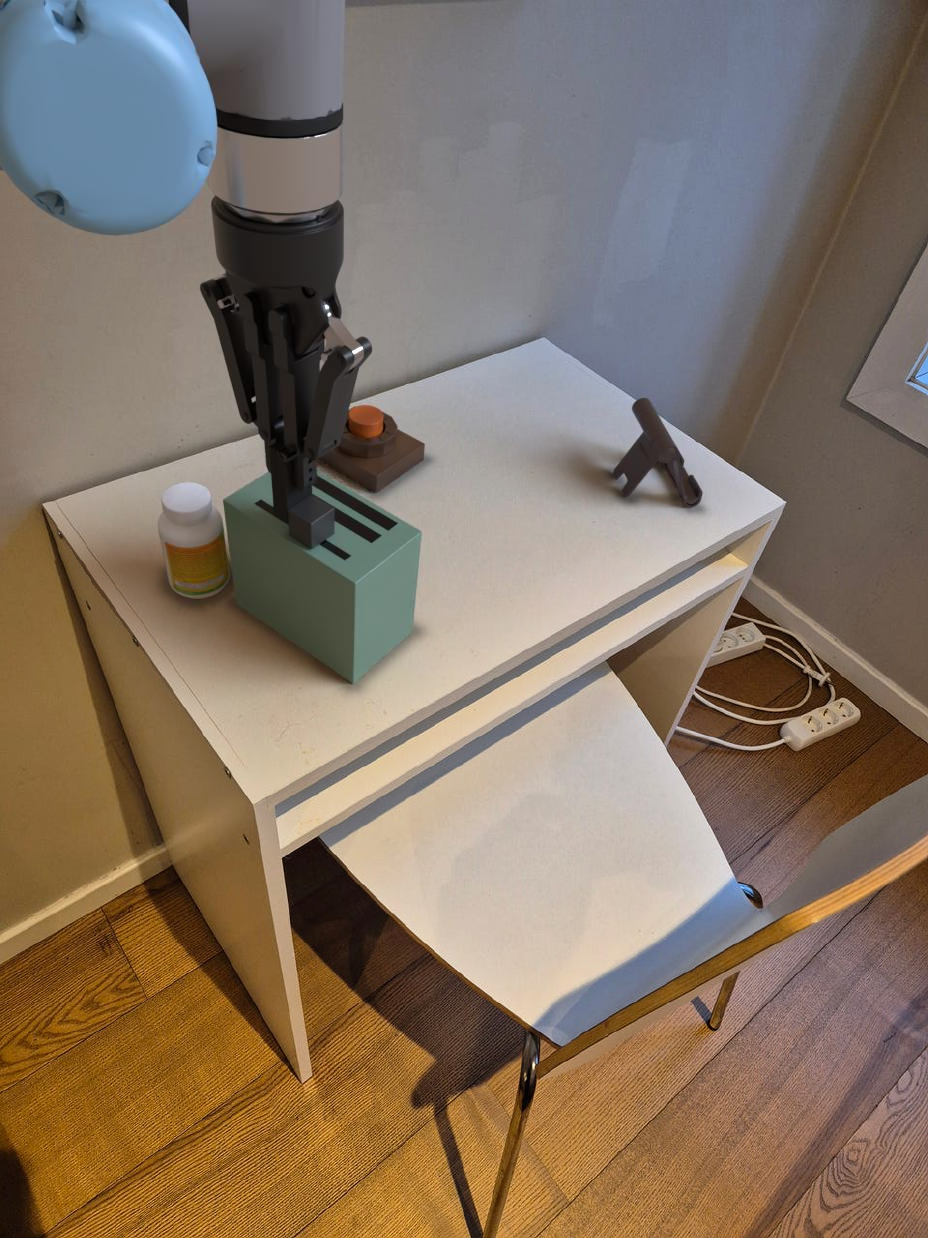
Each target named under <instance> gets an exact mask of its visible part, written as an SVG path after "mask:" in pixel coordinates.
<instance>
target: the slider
mask: <svg viewBox="0 0 928 1238" xmlns="http://www.w3.org/2000/svg"><path fill="white" fill-rule="evenodd" d="M288 521H289V535H290V536H291V537H292V538H294V539H296V540H297V541H299V542H300V543H302V544H304V545H305V546H307V547H308V548H310V549H313V548H315V547H316V546H318V545H319V544H320V543H322V542H323V541H325V540H326V539H327V538H329V537H330V536H332V535H333V534H334V533H335V509H334V508H333V507H332V506H330V505H328V504H327V503H325V502H323V501H322V500H320V499H318V498H317V497H315V496H313V495H310V496H308V497H307V498H305V499H304V500H302V501H301V502H299V503H298V504H296V505H295V506H293V507H292V508H290V509H289V510H288Z"/></svg>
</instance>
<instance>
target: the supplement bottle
mask: <svg viewBox="0 0 928 1238" xmlns="http://www.w3.org/2000/svg"><path fill="white" fill-rule="evenodd" d="M160 503H161V508H162V512H161V514H160V515H159V518H158V520H157V532H158V536H159V541H160V545H161V551H162V555H163V561H164V566H165V572H166V575H167V580H168V583H169V586H170V587H171V589H172V590H173V591H174V593H176V594H178V595H180V596H182V597H185V598H189V599H194V600H195V599H201V600H202V599H205V598H206V599H207V598H210V597H212V596H215V595H217V594H219V593H220V592H222V591H223V590H224V588H226V586H227V585H228V584H229V581H230V576H231V575H230V566H229V565H230V564H229V559H228V551H227V544H226V536H225V527H224V522H223V521H224V520H223V517H222V514H221V512H220V511H219V510H218V509H217V507H215V506H214V505H213V501H212V495H211V492H210V490H209V489H208V488H207V487H206V486H204V485H203V484H200V483H196V482H192V481H191V482H190V481H186V482H178V483H174V484H172V485H170V486H169V487H167V488H165V490H164V491H163V492H162V494H161V497H160Z"/></svg>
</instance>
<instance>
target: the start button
mask: <svg viewBox="0 0 928 1238" xmlns="http://www.w3.org/2000/svg"><path fill="white" fill-rule="evenodd" d="M355 406H356V407H354V406H353V407H354V408H353V407H351V408H352V409H351V408H350V409H351V410H350V412H349V431H350V432H351V433H352V434H354V435H356V436H359V437H365V438H370V437H376V436H379V435H380V434H381V433H382V431H383V413H382V412H383V411H382V410H381V409H380V408H378V407H376V406H373V405H368V404H361V405H355Z"/></svg>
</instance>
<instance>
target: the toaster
mask: <svg viewBox="0 0 928 1238" xmlns="http://www.w3.org/2000/svg"><path fill="white" fill-rule="evenodd" d="M312 495H313V496H315V497H317V498H318V499H320V500H322V501H323V502H325V503H327V504H328V505H330V506H332V507H333V508H334V509H335V533H334V534H333V535H332V536H330V537H329V538H327V539H326V540H325V541H323V542H322V543H320V544H319V545H318V546H316V547H315V548H313V549H310V548H308V547H307V546H305V545H304V544H302V543H300V542H299V541H297V540H296V539H294V538H292V537H291V536H290V535H289V525H287V524H286V523H284V522H283V521H281V520H279V519H278V518H276V517H275V516H274V508H273V494H272V480H271V473H270V472H268V471H267V472H266V473H264V474H262V475H260V476H259V477H257V478H256V479H254V480H252V481H251V482H249V483H248V484H246V485H244V486H243V487H241V488H239V489H238V490H235V491H234V492H233V493H231V494H230V495H228V496H226V497H224V498H223V499H222V505H223V512H224V513H223V514H224V519H225V527H226V537H227V544H228V552H229V557H230V558H229V560H230V561H229V562H230V567H231V577H232V584H233V592H234V600H235V604H236V605H238V606H239V607H240V608H242V609H244V611H247V613H249V614H250V615H252V616H254V617H255V618H256V619H258V620H259V621H261V622H262V623H264V624H265V625H267V626H268V627H270V628H271V629H273V630H274V631H276V632H277V634H280V635H281V636H283V637H284V638H285V639H287V640H288V641H290V642H291V643H293V644H294V645H296V647H299V649H301V650H302V651H304V652H306V653H307V654H309V655H310V656H312V657H313V658H315V660H317V661H318V662H320V663H322V664H323V665H324V666H326V667H328V668H329V669H331V670H332V672H333V671H334V672H335V673H336V674H337V675H339V676H341V677H342V678H343V679H345V680H346V681H348V682H349V683H351V684H352V685H354V684H355V683H357V681H359V680H360V679H361V678H362V677H363V676H364V675H365V674H366V673H368V672H369V671H370V670H371V669H372V668H374V667H375V666H376V664H378V663H379V662H380V661H381V660H382V659H384V658H385V657H386V656H387V655H388V654H389V653H390V652H392V651H393V650H394V649H395V648H396V647H397V646H398V645H399V644H400V643H402V642H403V641H404V640H405V639H406V638H407V637H408V636H410V635H411V634H412V633H413V628H414V622H415V621H414V620H415V610H416V601H417V587H418V579H419V578H418V577H419V568H420V567H419V566H420V558H421V557H420V555H421V546H422V545H421V544H422V534H423V532H422V530H420V529H418V528H416V527H415V526H414V525H412V524H410V523H408V522H407V521H405V520H403V519H401V518H399V517H398V516H396V515H394V514H393V513H392V512H389V511H388V510H386V509H385V508H382V507H381V506H379V505H378V504H376V503H374V502H372V501H370V500H369V499H367V498H366V497H364V496H362V495H360V494H359V493H357V492H355V491H354V490H352V489H350V488H349V487H347V486H345V485H343V484H341V483H340V482H338V481H336V480H335V479H333V478H332V477H330V476H328V475H327V474H325V473H324V472H321V471H320V470H318V469H317V481H316V483H315V484H313V485H312Z"/></svg>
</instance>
